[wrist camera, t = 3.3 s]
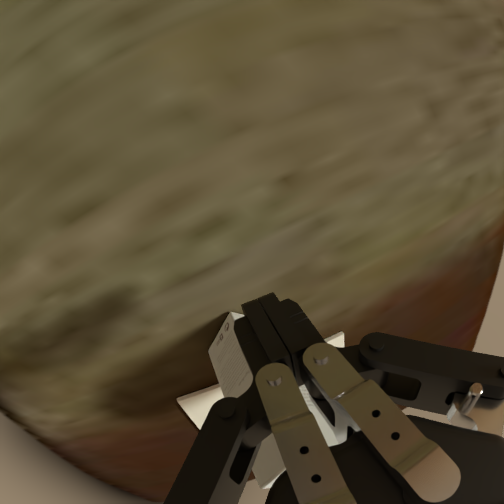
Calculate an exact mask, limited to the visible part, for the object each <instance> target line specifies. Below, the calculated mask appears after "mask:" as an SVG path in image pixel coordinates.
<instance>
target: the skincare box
mask: <svg viewBox="0 0 504 504" xmlns="http://www.w3.org/2000/svg"><path fill="white" fill-rule="evenodd" d="M241 317H244V315H243V314H238V313H234V312H230V313H229V314H228V316H227V318H226V320H225V321H224V323H223V325H222V327H221V329H220V331H219V332H218V334H217V336H216V338H215V340H214V341H213V343H212V345H211V346H210V348H209V350H208V353H209V356H210V359H211V361H212V365H213V368H214V370H215V373H216V376H217V379H218V382H219V385H220V387H221V390H222V393H223V396H224V398H225V397H235V398H238V397H239V396H240V395H242V394H243V393H244V392H246V391H247V390H248V388H249V387H250V386H251V384H252V381H253V376H252V373H251V371H250V369H249V366H248V364H247V362H246V360H245V357H244V355H243V353H242V351H241V348H240V345H239V343H238V340H237V338H236V335H235V332H234V330H233V329H234V321H235V320H236V319H238V318H241ZM299 389H300V391H301V393H302V396H303V398H304V400H305V402H306V404H307V406H308V409H309V410H310V412H312V413H313V415H314V417H315V419H316V421H317V423H318V425H319V427H320V430H321V432H322V434H323V436H324V438H325V440H326V442H327V445H328V447H329V446H333V445H338V444H339V443H338V441H337V440H336V437H335V435H334V433H333V431H332V429H331V428H330V426H329V425H328V424H327V422H326V421H325V419H324V418H323V417H322V415H321V414H320V412H319V411H318V410H317V408H316V407H315V406H314V404H313V403H312V401H311V400H310V398H309V393H308V390H307V388H306V387H305V385H302V386H300V387H299ZM252 470H253V473H254V475H255V477H256V480H257V482H258V484H259V486H260V488H261V489H265V488H271V487H272V485H273V483H274V482H275V480H276V479H277V478H278V477H279V475H280V474H281V473H283V472H284V471H285V470H286V468H285V465H284V462H283V460H282V457H281V454H280V451H279V449H278V446H277V443H276V440H275V438H274V435H273V433H271V434H270V435H269V436H268V437H267V438H265V439H264V440H263V441H262V443H261V446H260V449H259V451H258V454H257V457H256V459H255V462H254V464H253V467H252Z"/></svg>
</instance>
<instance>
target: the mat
mask: <svg viewBox="0 0 504 504" xmlns="http://www.w3.org/2000/svg"><path fill="white" fill-rule="evenodd" d="M324 340H325V341H326V342H327V343H328V344H331V345H333V346H335V347H344V333H343V332H342V331H341V332H339V333H337V334H335V335H333V336H331V337H328V338H326V339H324ZM222 398H224V396H223V393H222V390H221V387H220V385H219V384H216V385H213V386H210V387H208V388H205V389H202V390H199V391H196V392H193V393H190V394H187V395H184V396H181V397H178V398H177V402H178V403H179V404H180V406H181V407H182V408H183V410H184V411H185V412H186V413H187V415H188V416H189V417H190V418H191V420H192V421H193V422H194V423H195V425H196V426H197V427H198V428H199V429H201V427H202V425H203V423H204V421H205V419H206V417H207V415H208V413H209V411H210V408H211V407H212V405H213V404H214V403H215V402H216V401H218V400H220V399H222Z"/></svg>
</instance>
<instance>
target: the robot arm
mask: <svg viewBox="0 0 504 504" xmlns="http://www.w3.org/2000/svg"><path fill="white" fill-rule="evenodd" d="M241 306H242V310H243V313H244V317H241V318H238V319H236V320H235V321H234V329H233V330H234V332H235V335H236V338H237V340H238V343H239V345H240V348H241V351H242V353H243V355H244V357H245V360H246V362H247V364H248V366H249V369H250V371H251V373H252V376H253V381H252V384H251V386H250V387H249V388H248V390H247V391H246V392H244V393H243V394H242V395H240V396H239V397H238V398H235V397H225V398H222V399H220V400H218V401H216V402H215V403H214V404H213V405H212V407H211V408H210V411H209V413H208V415H207V417H206V419H205V421H204V423H203V425H202V427H201V429H200V431H199V433H198V435H197V437H196V439H195V442H194V444H193V446H192V448H191V450H190V452H189V454H188V456H187V458H186V460H185V462H184V464H183V466H182V468H181V470H180V472H179V474H178V476H177V478H176V480H175V482H174V484H173V486H172V488H171V490H170V492H169V494H168V496H167V498H166V500H165V502H164V504H238V502H239V499H240V497H241V494H242V492H243V490H244V487H245V484H246V482H247V480H248V477H249V475H250V472H251V470H252V467H253V464H254V462H255V459H256V457H257V454H258V451H259V449H260V446H261V443H262V441H263V440H264V439H265V438H267V437H268V436H269V435H270V434H271V433H273V435H274V438H275V440H276V443H277V446H278V449H279V451H280V454H281V457H282V460H283V462H284V465H285V468H286V470H285V471H284V472H283V473H281V474H280V475H279V477H278V478H277V479H276V480H275V482H274V483H273V485H272V487H271V488H270V491H269V493H268V496H267V499H266V502H265V504H504V438H503V437H502V431H503V425H504V357H499V356H494V355H488V354H482V353H477V352H472V351H466V350H461V349H456V348H451V347H446V346H441V345H436V344H431V343H426V342H421V341H416V340H412V339H407V338H402V337H398V336H393V335H389V334H384V333H379V332H375V333H370V334H368V335H366V336H364V337H363V338H362V339H361V341H360V344H359V345H354V346H349V347H335V346H333V345H331V344H328V343H327V342H326V341H325V340H324V339H323V338H322V336H321V335H320V334H319V332H318V331H317V329H316V328H315V327H314V325H313V324H312V323H311V321H310V320H309V319H308V317H307V316H306V314H305V313H304V312H303V310H302V309H301V308H300V306H299V305H298V304H297V303H296V302H294V301H292V300H290V299H286V300H283V301H281V302H280V301H279V300H278V298H277V297H276V295H275V294H274V293H273V292H272V293H269V294H267V295H264V296H262V297H259V298H258V300H257V299H255V300H252V301H250V302H247V303H244V304H242V305H241ZM302 385H305V387H306V388H307V390H308V393H309V398H310V400H311V401H312V403H313V404H314V406H315V407H316V408H317V410H318V411H319V412H320V414H321V415H322V417H323V418H324V419H325V421H326V422H327V424H328V425H329V426H330V428H331V429H332V431H333V433H334V435H335V437H336V440H337V441H338V443H339V444H338V445H333V446H329V447H328V445H327V442H326V440H325V438H324V436H323V434H322V432H321V430H320V427H319V425H318V423H317V421H316V419H315V417H314V415H313V413H312V412H310V410H309V409H308V406H307V404H306V402H305V400H304V398H303V396H302V393H301V391H300V389H299V387H300V386H302ZM396 404H399V405H403V406H407V407H412V408H416V409H420V410H425V411H429V412H434V413H438V414H443V415H447V418H448V420H449V422H450V423H451V425H449V424H445V423H441V422H437V421H433V420H429V419H425V418H421V417H417V416H412V415H405V414H404V413H403V412H402V411H401V410H400V409H399V407H398V406H397V405H396Z"/></svg>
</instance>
